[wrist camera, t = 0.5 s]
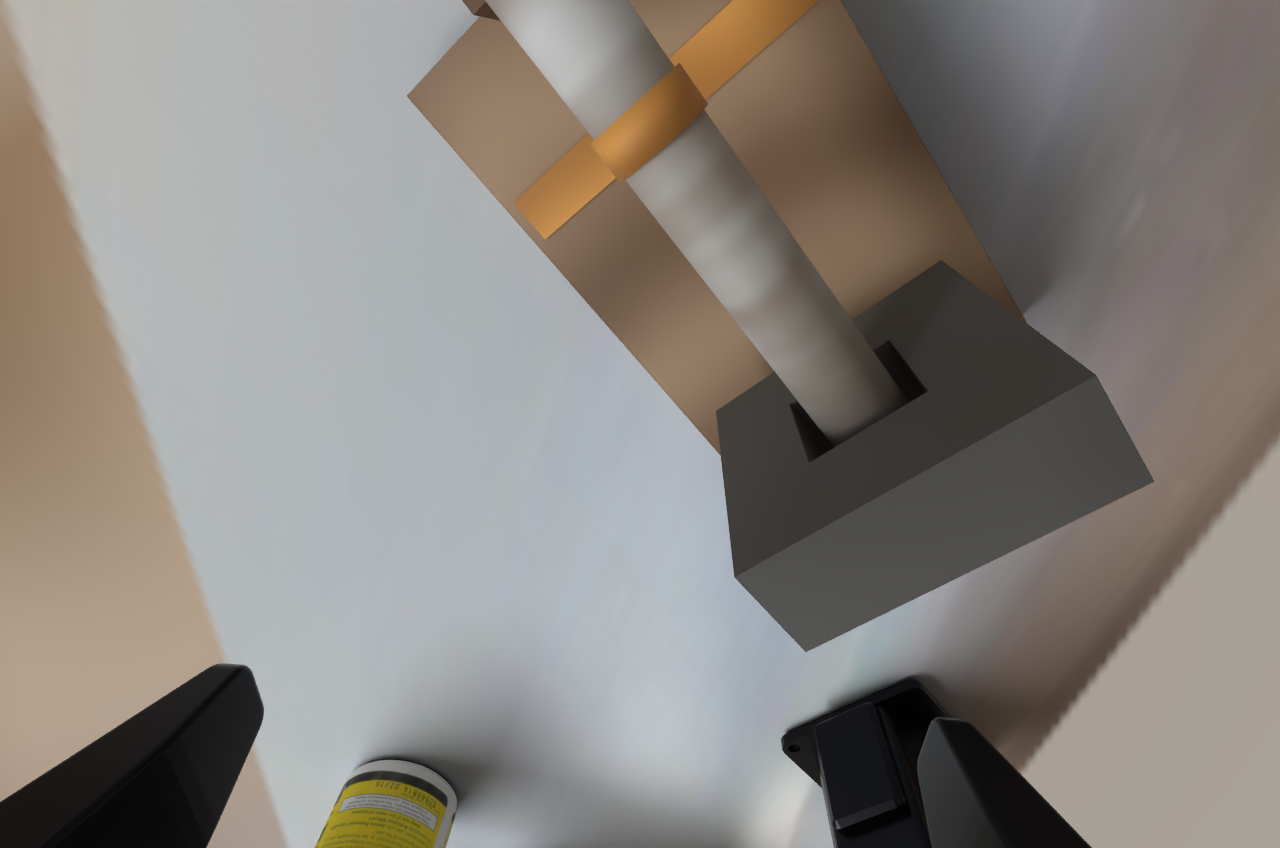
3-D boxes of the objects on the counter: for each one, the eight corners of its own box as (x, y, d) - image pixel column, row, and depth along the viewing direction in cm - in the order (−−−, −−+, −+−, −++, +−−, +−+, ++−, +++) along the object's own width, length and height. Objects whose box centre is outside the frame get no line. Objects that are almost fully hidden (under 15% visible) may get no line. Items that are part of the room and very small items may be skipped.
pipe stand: (1020, 330, 19) (1182, 456, 13) (761, 486, 22) (794, 648, 16) (696, -223, 14) (713, -453, 8) (414, 83, 17) (264, 95, 11)
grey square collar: (986, 334, 16) (1154, 481, 11) (766, 470, 19) (805, 651, 13) (941, 259, 16) (1096, 375, 10) (715, 411, 18) (734, 577, 12)
